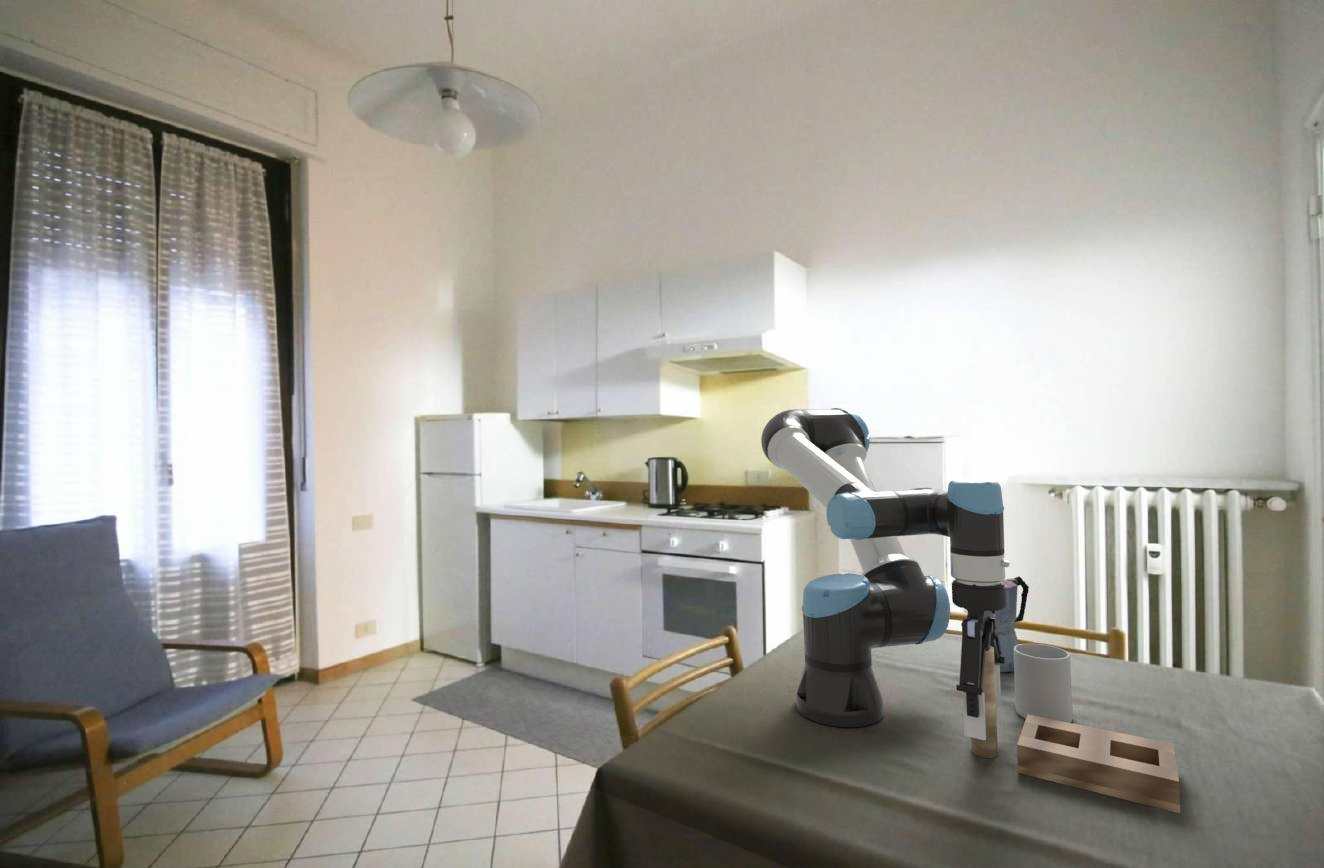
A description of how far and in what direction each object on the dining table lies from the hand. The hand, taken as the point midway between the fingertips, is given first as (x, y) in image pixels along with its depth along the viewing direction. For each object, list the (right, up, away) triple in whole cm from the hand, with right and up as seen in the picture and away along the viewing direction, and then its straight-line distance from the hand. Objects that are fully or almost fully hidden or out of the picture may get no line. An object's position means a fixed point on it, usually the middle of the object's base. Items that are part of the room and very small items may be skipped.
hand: (983, 720), depth 96 cm
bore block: (+13, -4, -7) cm, 15 cm away
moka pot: (+22, -5, +36) cm, 43 cm away
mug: (+17, -5, +14) cm, 22 cm away
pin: (0, -5, 0) cm, 5 cm away
